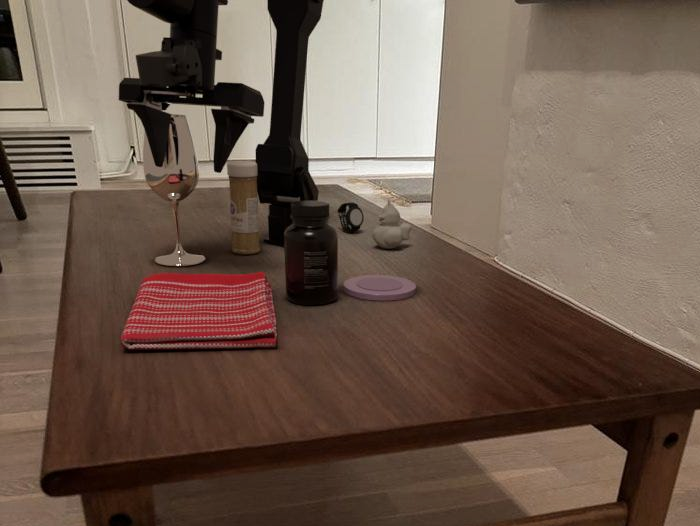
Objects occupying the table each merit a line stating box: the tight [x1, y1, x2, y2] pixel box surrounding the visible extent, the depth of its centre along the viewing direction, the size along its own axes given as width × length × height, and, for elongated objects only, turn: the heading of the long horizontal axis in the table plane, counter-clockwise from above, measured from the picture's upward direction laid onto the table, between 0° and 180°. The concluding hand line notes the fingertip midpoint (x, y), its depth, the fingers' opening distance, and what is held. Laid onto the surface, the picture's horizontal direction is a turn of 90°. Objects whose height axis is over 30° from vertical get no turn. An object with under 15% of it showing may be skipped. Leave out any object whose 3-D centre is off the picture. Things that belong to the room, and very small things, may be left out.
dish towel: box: [119, 270, 278, 351], centre depth 89 cm, size 17×24×3 cm
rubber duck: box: [372, 197, 412, 250], centre depth 122 cm, size 5×7×8 cm
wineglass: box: [142, 113, 206, 268], centre depth 108 cm, size 8×8×20 cm
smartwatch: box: [336, 202, 365, 233], centre depth 133 cm, size 4×5×5 cm
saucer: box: [342, 274, 417, 302], centre depth 101 cm, size 10×10×1 cm
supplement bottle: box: [283, 200, 339, 306], centre depth 94 cm, size 7×7×12 cm
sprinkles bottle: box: [226, 160, 261, 256], centre depth 115 cm, size 5×5×14 cm
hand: (187, 169), depth 97 cm, fingers open, 9 cm apart
